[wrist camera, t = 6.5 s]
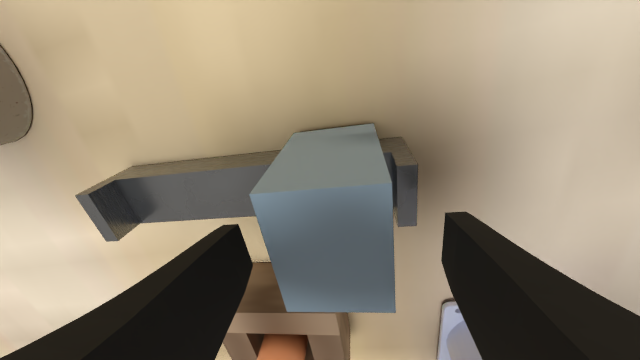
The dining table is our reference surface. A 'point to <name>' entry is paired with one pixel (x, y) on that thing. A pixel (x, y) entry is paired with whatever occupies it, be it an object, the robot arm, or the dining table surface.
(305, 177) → the block
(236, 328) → the square wooden frame
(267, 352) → the gauge button
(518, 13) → the dining table surface
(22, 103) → the thermos bottle
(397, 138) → the rail
